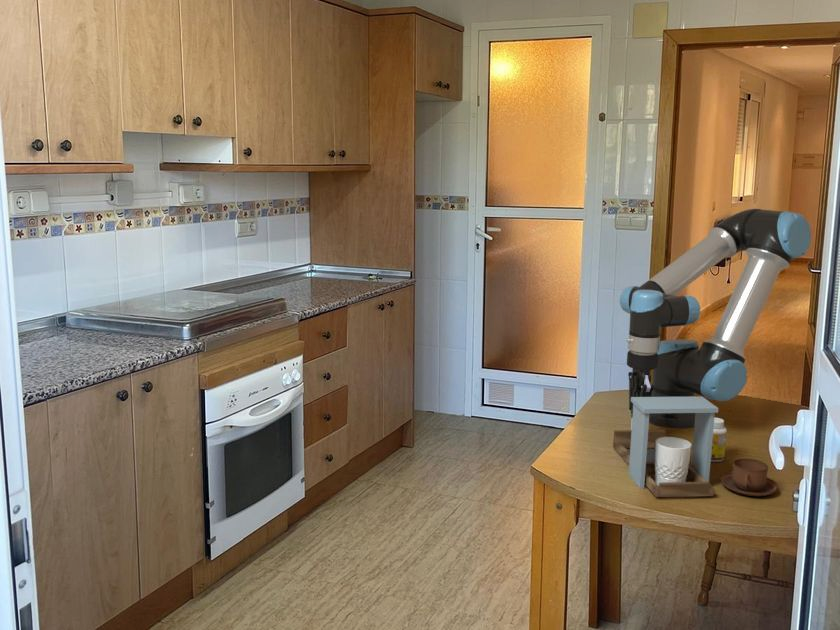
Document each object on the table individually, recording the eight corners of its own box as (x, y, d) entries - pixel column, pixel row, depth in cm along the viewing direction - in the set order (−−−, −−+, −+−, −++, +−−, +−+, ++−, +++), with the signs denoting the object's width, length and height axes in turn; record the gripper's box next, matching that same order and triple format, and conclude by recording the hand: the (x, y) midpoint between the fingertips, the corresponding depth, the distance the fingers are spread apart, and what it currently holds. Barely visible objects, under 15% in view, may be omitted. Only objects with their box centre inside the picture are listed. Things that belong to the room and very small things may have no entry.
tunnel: (625, 474, 198) (631, 397, 194) (695, 473, 199) (702, 396, 195) (638, 489, 189) (644, 409, 185) (711, 488, 190) (718, 408, 187)
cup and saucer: (782, 503, 184) (785, 476, 182) (725, 498, 185) (727, 472, 184) (769, 481, 195) (772, 456, 194) (715, 477, 197) (718, 452, 196)
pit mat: (619, 450, 213) (620, 449, 213) (658, 449, 214) (658, 448, 214) (632, 465, 204) (632, 464, 203) (672, 464, 204) (672, 463, 204)
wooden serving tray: (613, 446, 214) (614, 430, 213) (662, 445, 215) (663, 429, 214) (655, 496, 184) (657, 478, 183) (713, 495, 185) (715, 477, 184)
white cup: (686, 479, 196) (690, 438, 194) (689, 492, 188) (692, 450, 186) (651, 475, 197) (654, 435, 195) (652, 488, 190) (656, 446, 188)
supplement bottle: (695, 456, 210) (698, 417, 208) (712, 453, 212) (716, 415, 210) (711, 464, 205) (714, 424, 203) (728, 461, 207) (732, 421, 205)
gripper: (620, 345, 217) (614, 432, 221) (636, 358, 204) (629, 449, 209) (649, 345, 217) (642, 432, 222) (666, 358, 204) (658, 449, 209)
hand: (635, 440), depth 215 cm, fingers closed
